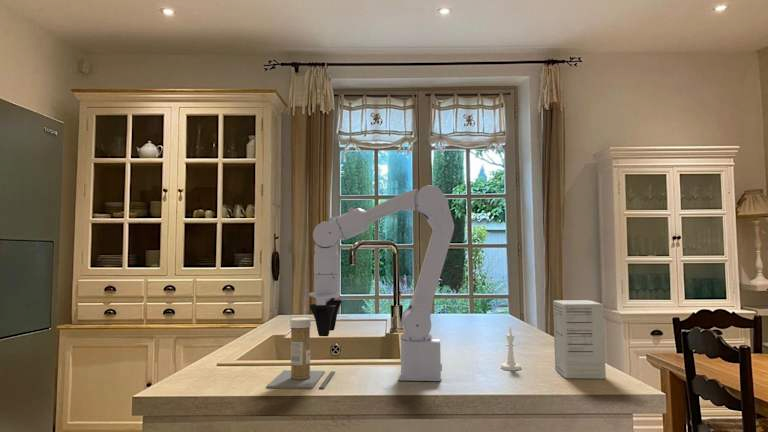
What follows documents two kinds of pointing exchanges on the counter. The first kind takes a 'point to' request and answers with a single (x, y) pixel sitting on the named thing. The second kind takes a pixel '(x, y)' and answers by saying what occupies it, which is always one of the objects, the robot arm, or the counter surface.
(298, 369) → the sprinkles bottle
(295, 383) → the mat
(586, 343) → the supplement box
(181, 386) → the counter surface
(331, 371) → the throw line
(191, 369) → the counter surface
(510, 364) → the chess piece
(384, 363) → the counter surface
